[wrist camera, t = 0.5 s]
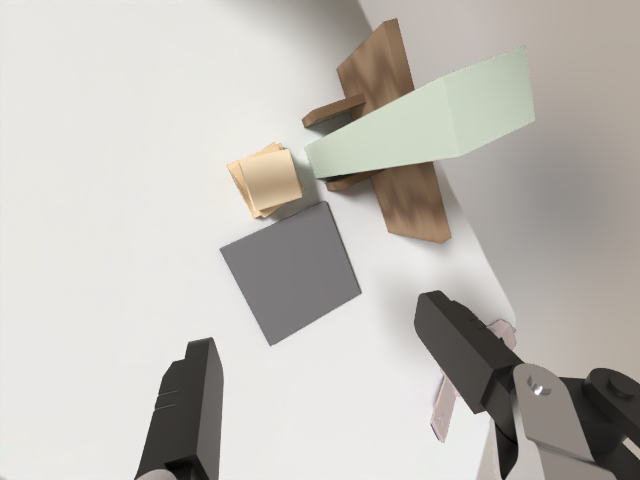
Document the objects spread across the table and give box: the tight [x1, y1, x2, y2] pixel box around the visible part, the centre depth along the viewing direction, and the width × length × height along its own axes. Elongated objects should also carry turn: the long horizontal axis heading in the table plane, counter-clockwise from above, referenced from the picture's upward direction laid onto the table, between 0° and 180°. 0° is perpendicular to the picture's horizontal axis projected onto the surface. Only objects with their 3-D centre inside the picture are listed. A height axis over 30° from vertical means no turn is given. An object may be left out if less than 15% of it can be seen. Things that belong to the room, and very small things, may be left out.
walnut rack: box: [302, 18, 451, 243], centre depth 31 cm, size 22×8×10 cm, turn 23°
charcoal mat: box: [220, 201, 360, 346], centre depth 35 cm, size 14×14×1 cm
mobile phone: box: [430, 320, 516, 443], centre depth 47 cm, size 6×6×25 cm
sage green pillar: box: [304, 46, 535, 179], centre depth 25 cm, size 4×6×22 cm, turn 113°
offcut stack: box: [227, 142, 305, 218], centre depth 31 cm, size 7×7×4 cm
